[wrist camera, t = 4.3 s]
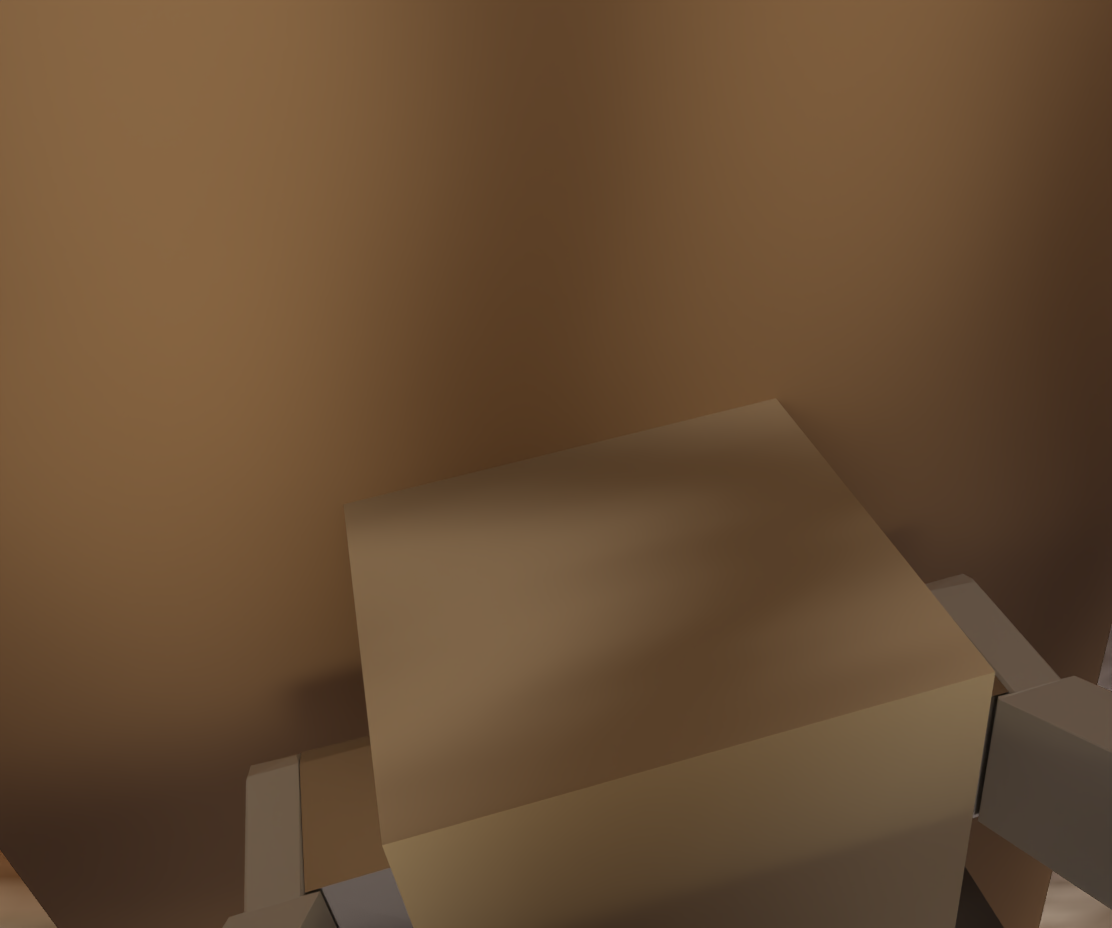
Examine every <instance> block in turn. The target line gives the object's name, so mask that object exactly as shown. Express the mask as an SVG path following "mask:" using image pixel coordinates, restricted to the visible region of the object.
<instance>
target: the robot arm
mask: <svg viewBox="0 0 1112 928" xmlns="http://www.w3.org/2000/svg"><path fill="white" fill-rule="evenodd" d="M925 585H926V586H927V587H928V588H929V590H930V591H931V592H932V593H933V595H934V596H935V597H936V598H937V600H938V601H939V602H940V603H941V605H942V606H943V607H944V608H945V610H946V611H947V612H948V613H949V615H950V616H951V617H952V618H953V620H954V621H955V622H956V623H957V625H958V626H959V627H960V628H961V630H962V631H963V632H964V633H965V635H966V636H967V637H968V638H969V640H970V641H971V642H972V643H973V645H974V646H975V647H976V648H977V650H978V651H979V652H980V653H981V655H982V656H983V657H984V658H985V660H986V661H987V662H988V663H989V665H990V666H991V667H992V668H993V670H994V671H995V678H994V684H993V690H992V697H991V703H990V709H989V716H988V722H987V728H986V735H985V741H984V747H983V754H982V760H981V766H980V773H979V779H978V785H977V792H976V798H975V804H974V811H973V817H972V818H975V817H978V821H979V822H980V823H982V824H983V825H985V826H986V827H988V828H989V829H991V830H992V831H994V832H995V833H997V834H998V835H1000V836H1001V837H1003V838H1004V839H1006V840H1007V841H1009V842H1010V843H1012V844H1013V845H1015V846H1016V847H1018V848H1019V849H1021V850H1022V851H1024V852H1025V853H1027V854H1029V855H1030V856H1032V857H1033V858H1035V859H1036V860H1038V861H1039V862H1041V863H1042V864H1044V865H1045V866H1047V867H1048V868H1050V869H1051V870H1053V871H1054V872H1056V873H1057V874H1059V875H1060V876H1062V877H1063V878H1065V879H1066V880H1068V881H1069V882H1071V883H1072V884H1074V885H1075V886H1077V887H1078V888H1080V889H1081V890H1083V891H1084V892H1086V893H1087V894H1089V895H1091V896H1092V897H1094V898H1095V899H1097V900H1098V901H1100V902H1101V903H1103V904H1104V905H1106V906H1107V907H1109V908H1110V909H1112V691H1109V690H1107V689H1105V688H1102V687H1100V686H1098V685H1095V684H1093V683H1091V682H1088V681H1086V680H1084V679H1081V678H1079V677H1077V676H1071V677H1067V678H1062V679H1061V678H1060V677H1059V676H1058V675H1057V674H1056V673H1055V672H1054V670H1053V669H1052V668H1051V667H1050V666H1049V665H1048V664H1047V663H1046V661H1045V660H1044V659H1043V658H1042V657H1041V656H1040V655H1039V653H1038V652H1037V651H1036V650H1035V649H1034V648H1033V647H1032V645H1031V644H1030V643H1029V642H1028V641H1027V640H1026V639H1025V638H1024V636H1023V635H1022V634H1021V633H1020V632H1019V631H1018V630H1017V628H1016V627H1015V626H1014V625H1013V624H1012V623H1011V622H1010V620H1009V619H1008V618H1007V617H1006V616H1005V615H1004V614H1003V613H1002V611H1001V610H1000V609H999V608H998V607H997V606H996V605H995V603H994V602H993V601H992V600H991V599H990V598H989V597H988V595H987V594H986V593H985V592H984V591H983V590H982V589H981V588H980V586H979V585H978V584H977V583H976V582H975V581H974V580H973V579H972V578H970V577H968V576H966V575H964V574H960V575H956V576H952V577H949V578H945V579H942V580H938V581H934V582H931V583H927V584H925ZM222 928H413V925H412V923H411V920H410V918H409V915H408V912H407V910H406V907H405V904H404V902H403V899H402V897H401V894H400V891H399V889H398V886H397V883H396V881H395V878H394V876H393V873H392V870H391V868H390V865H389V862H388V860H387V857H386V855H385V852H384V849H383V847H382V841H381V832H380V823H379V814H378V805H377V796H376V788H375V779H374V770H373V761H372V752H371V743H370V736H366V737H362V738H358V739H354V740H350V741H346V742H342V743H338V744H333V745H329V746H325V747H321V748H317V749H313V750H309V751H305V752H301V753H300V754H296V755H292V756H288V757H284V758H280V759H276V760H272V761H268V762H263V763H259V764H255V765H251V767H250V770H249V773H248V776H247V779H246V817H245V885H244V912H243V913H240V914H237V915H234V916H230V917H229V918H228V919H227V921H226V922H225V924H224V926H223V927H222Z"/></svg>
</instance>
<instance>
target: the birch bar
mask: <svg viewBox="0 0 1112 928" xmlns="http://www.w3.org/2000/svg"><path fill="white" fill-rule="evenodd" d="M343 505H344V513H345V522H346V531H347V540H348V549H349V558H350V566H351V575H352V584H353V593H354V602H355V611H356V620H357V628H358V637H359V646H360V655H361V664H362V673H363V681H364V690H365V699H366V708H367V717H368V726H369V734H370V743H371V752H372V761H373V770H374V779H375V788H376V796H377V805H378V814H379V823H380V832H381V841H382V847H383V849H384V852H385V855H386V857H387V860H388V862H389V865H390V868H391V870H392V873H393V876H394V878H395V881H396V883H397V886H398V889H399V891H400V894H401V897H402V899H403V902H404V904H405V907H406V910H407V912H408V915H409V918H410V920H411V923H412V925H413V928H955V925H956V919H957V912H958V906H959V900H960V893H961V887H962V881H963V874H964V868H965V862H966V855H967V849H968V843H969V836H970V830H971V824H972V817H973V811H974V804H975V798H976V792H977V785H978V779H979V773H980V766H981V760H982V754H983V747H984V741H985V735H986V728H987V722H988V716H989V709H990V703H991V697H992V690H993V684H994V678H995V671H994V670H993V668H992V667H991V666H990V665H989V663H988V662H987V661H986V660H985V658H984V657H983V656H982V655H981V653H980V652H979V651H978V650H977V648H976V647H975V646H974V645H973V643H972V642H971V641H970V640H969V638H968V637H967V636H966V635H965V633H964V632H963V631H962V630H961V628H960V627H959V626H958V625H957V623H956V622H955V621H954V620H953V618H952V617H951V616H950V615H949V613H948V612H947V611H946V610H945V608H944V607H943V606H942V605H941V603H940V602H939V601H938V600H937V598H936V597H935V596H934V595H933V593H932V592H931V591H930V590H929V588H928V587H927V586H926V585H925V583H924V582H923V581H922V580H921V578H920V577H919V576H918V575H917V573H916V572H915V571H914V570H913V568H912V567H911V566H910V565H909V564H908V562H907V561H906V560H905V559H904V557H903V556H902V555H901V554H900V552H899V551H898V550H897V549H896V547H895V546H894V545H893V544H892V542H891V541H890V540H889V539H888V537H887V536H886V535H885V534H884V532H883V531H882V530H881V529H880V527H879V526H878V525H877V524H876V522H875V521H874V520H873V519H872V517H871V516H870V515H869V514H868V512H867V511H866V510H865V509H864V507H863V506H862V505H861V504H860V502H859V501H858V500H857V499H856V497H855V496H854V495H853V494H852V492H851V491H850V490H849V489H848V487H847V486H846V485H845V484H844V482H843V481H842V480H841V479H840V477H839V476H838V475H837V474H836V472H835V471H834V470H833V469H832V467H831V466H830V465H829V464H828V462H827V461H826V460H825V459H824V457H823V456H822V455H821V454H820V452H819V451H818V450H817V449H816V447H815V446H814V445H813V444H812V442H811V441H810V440H809V439H808V437H807V436H806V435H805V434H804V432H803V431H802V430H801V429H800V427H799V426H798V425H797V424H796V422H795V421H794V420H793V419H792V418H791V416H790V415H789V414H788V413H787V411H786V410H785V409H784V408H783V406H782V405H781V404H780V403H779V401H778V400H777V399H776V398H775V399H771V400H767V401H763V402H759V403H755V404H751V405H747V406H743V407H739V408H734V409H730V410H726V411H722V412H718V413H714V414H710V415H706V416H702V417H698V418H694V419H690V420H686V421H681V422H677V423H673V424H669V425H665V426H661V427H657V428H653V429H649V430H645V431H641V432H637V433H633V434H628V435H624V436H620V437H616V438H612V439H608V440H604V441H600V442H596V443H592V444H588V445H584V446H580V447H575V448H571V449H567V450H563V451H559V452H555V453H551V454H547V455H543V456H539V457H535V458H531V459H527V460H522V461H518V462H514V463H510V464H506V465H502V466H498V467H494V468H490V469H486V470H482V471H478V472H474V473H469V474H465V475H461V476H457V477H453V478H449V479H445V480H441V481H437V482H433V483H429V484H425V485H421V486H416V487H412V488H408V489H404V490H400V491H396V492H392V493H388V494H384V495H380V496H376V497H372V498H368V499H363V500H359V501H355V502H351V503H347V504H343Z"/></svg>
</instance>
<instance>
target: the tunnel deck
mask: <svg viewBox="0 0 1112 928" xmlns="http://www.w3.org/2000/svg"><path fill="white" fill-rule="evenodd" d="M775 398H776V399H777V400H778V401H779V403H780V404H781V405H782V406H783V408H784V409H785V410H786V411H787V413H788V414H789V415H790V416H791V418H792V419H793V420H794V421H795V422H796V424H797V425H798V426H799V427H800V429H801V430H802V431H803V432H804V434H805V435H806V436H807V437H808V439H809V440H810V441H811V442H812V444H813V445H814V446H815V447H816V449H817V450H818V451H819V452H820V454H821V455H822V456H823V457H824V459H825V460H826V461H827V462H828V464H829V465H830V466H831V467H832V469H833V470H834V471H835V472H836V474H837V475H838V476H839V477H840V479H841V480H842V481H843V482H844V484H845V485H846V486H847V487H848V489H849V490H850V491H851V492H852V494H853V495H854V496H855V497H856V499H857V500H858V501H859V502H860V504H861V505H862V506H863V507H864V509H865V510H866V511H867V512H868V514H869V515H870V516H871V517H872V519H873V520H874V521H875V522H876V524H877V525H878V526H879V527H880V529H881V530H882V531H883V532H884V534H885V535H886V536H887V537H888V539H889V540H890V541H891V542H892V544H893V545H894V546H895V547H896V549H897V550H898V551H899V552H900V554H901V555H902V556H903V557H904V559H905V560H906V561H907V562H908V564H909V565H910V566H911V567H912V568H913V570H914V571H915V572H916V573H917V575H918V576H919V577H920V578H921V580H922V581H923V582H924V583H925V584H927V583H931V582H934V581H938V580H942V579H945V578H949V577H952V576H956V575H960V574H964V575H966V576H968V577H970V578H972V579H973V580H974V581H975V582H976V583H977V584H978V585H979V586H980V588H981V589H982V590H983V591H984V592H985V593H986V594H987V595H988V597H989V598H990V599H991V600H992V601H993V602H994V603H995V605H996V606H997V607H998V608H999V609H1000V610H1001V611H1002V613H1003V614H1004V615H1005V616H1006V617H1007V618H1008V619H1009V620H1010V622H1011V623H1012V624H1013V625H1014V626H1015V627H1016V628H1017V630H1018V631H1019V632H1020V633H1021V634H1022V635H1023V636H1024V638H1025V639H1026V640H1027V641H1028V642H1029V643H1030V644H1031V645H1032V647H1033V648H1034V649H1035V650H1036V651H1037V652H1038V653H1039V655H1040V656H1041V657H1042V658H1043V659H1044V660H1045V661H1046V663H1047V664H1048V665H1049V666H1050V667H1051V668H1052V669H1053V670H1054V672H1055V673H1056V674H1057V675H1058V676H1059V677H1060V678H1061V679H1062V678H1067V677H1071V676H1077V677H1079V678H1081V679H1084V680H1086V681H1088V682H1091V683H1093V684H1095V685H1097V683H1098V679H1099V675H1100V671H1101V666H1102V662H1103V658H1104V654H1105V650H1106V646H1107V642H1108V637H1109V633H1110V629H1111V625H1112V0H0V850H1V852H2V853H3V854H4V856H5V857H6V858H7V860H8V861H9V862H10V864H11V865H12V867H13V868H14V869H15V871H16V872H17V873H18V875H19V876H20V877H21V879H22V880H23V881H24V883H25V884H26V886H27V887H28V888H29V890H30V891H31V892H32V894H33V895H34V896H35V898H36V899H37V901H38V902H39V903H40V905H41V906H42V907H43V909H44V910H45V911H46V913H47V914H48V915H49V917H50V918H51V920H52V921H53V922H54V924H55V925H56V926H57V928H222V927H223V926H224V924H225V922H226V921H227V919H228V918H229V917H230V916H234V915H237V914H240V913H243V912H244V885H245V817H246V779H247V776H248V773H249V770H250V767H251V765H255V764H259V763H263V762H268V761H272V760H276V759H280V758H284V757H288V756H292V755H296V754H300V753H301V752H305V751H309V750H313V749H317V748H321V747H325V746H329V745H333V744H338V743H342V742H346V741H350V740H354V739H358V738H362V737H366V736H370V734H369V726H368V717H367V708H366V699H365V690H364V681H363V673H362V664H361V655H360V646H359V637H358V628H357V620H356V611H355V602H354V593H353V584H352V575H351V566H350V558H349V549H348V540H347V531H346V522H345V513H344V505H343V504H347V503H351V502H355V501H359V500H363V499H368V498H372V497H376V496H380V495H384V494H388V493H392V492H396V491H400V490H404V489H408V488H412V487H416V486H421V485H425V484H429V483H433V482H437V481H441V480H445V479H449V478H453V477H457V476H461V475H465V474H469V473H474V472H478V471H482V470H486V469H490V468H494V467H498V466H502V465H506V464H510V463H514V462H518V461H522V460H527V459H531V458H535V457H539V456H543V455H547V454H551V453H555V452H559V451H563V450H567V449H571V448H575V447H580V446H584V445H588V444H592V443H596V442H600V441H604V440H608V439H612V438H616V437H620V436H624V435H628V434H633V433H637V432H641V431H645V430H649V429H653V428H657V427H661V426H665V425H669V424H673V423H677V422H681V421H686V420H690V419H694V418H698V417H702V416H706V415H710V414H714V413H718V412H722V411H726V410H730V409H734V408H739V407H743V406H747V405H751V404H755V403H759V402H763V401H767V400H771V399H775ZM1051 874H1052V870H1051V869H1050V868H1048V867H1047V866H1045V865H1044V864H1042V863H1041V862H1039V861H1038V860H1036V859H1035V858H1033V857H1032V856H1030V855H1029V854H1027V853H1025V852H1024V851H1022V850H1021V849H1019V848H1018V847H1016V846H1015V845H1013V844H1012V843H1010V842H1009V841H1007V840H1006V839H1004V838H1003V837H1001V836H1000V835H998V834H997V833H995V832H994V831H992V830H991V829H989V828H988V827H986V826H985V825H983V824H982V823H980V822H979V821H978V817H975V818H972V824H971V830H970V836H969V843H968V849H967V855H966V862H965V868H964V874H963V881H962V887H961V893H960V900H959V906H958V912H957V919H956V925H955V928H1039V924H1040V920H1041V916H1042V912H1043V908H1044V904H1045V899H1046V895H1047V891H1048V887H1049V883H1050V879H1051Z"/></svg>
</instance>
